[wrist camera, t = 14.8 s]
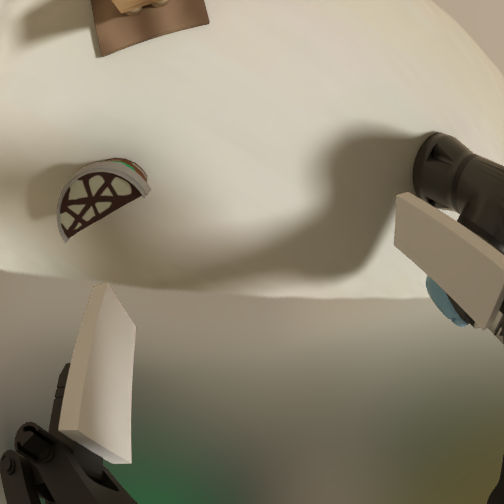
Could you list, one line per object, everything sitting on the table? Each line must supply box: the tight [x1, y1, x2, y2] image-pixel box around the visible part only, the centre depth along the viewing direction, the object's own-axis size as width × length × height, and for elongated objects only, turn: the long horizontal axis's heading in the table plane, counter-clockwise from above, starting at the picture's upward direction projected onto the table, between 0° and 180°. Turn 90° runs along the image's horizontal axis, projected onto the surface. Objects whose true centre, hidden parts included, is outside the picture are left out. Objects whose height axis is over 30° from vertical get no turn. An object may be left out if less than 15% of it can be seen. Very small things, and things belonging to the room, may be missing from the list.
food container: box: [57, 158, 151, 243], centre depth 30 cm, size 12×6×10 cm, turn 110°
